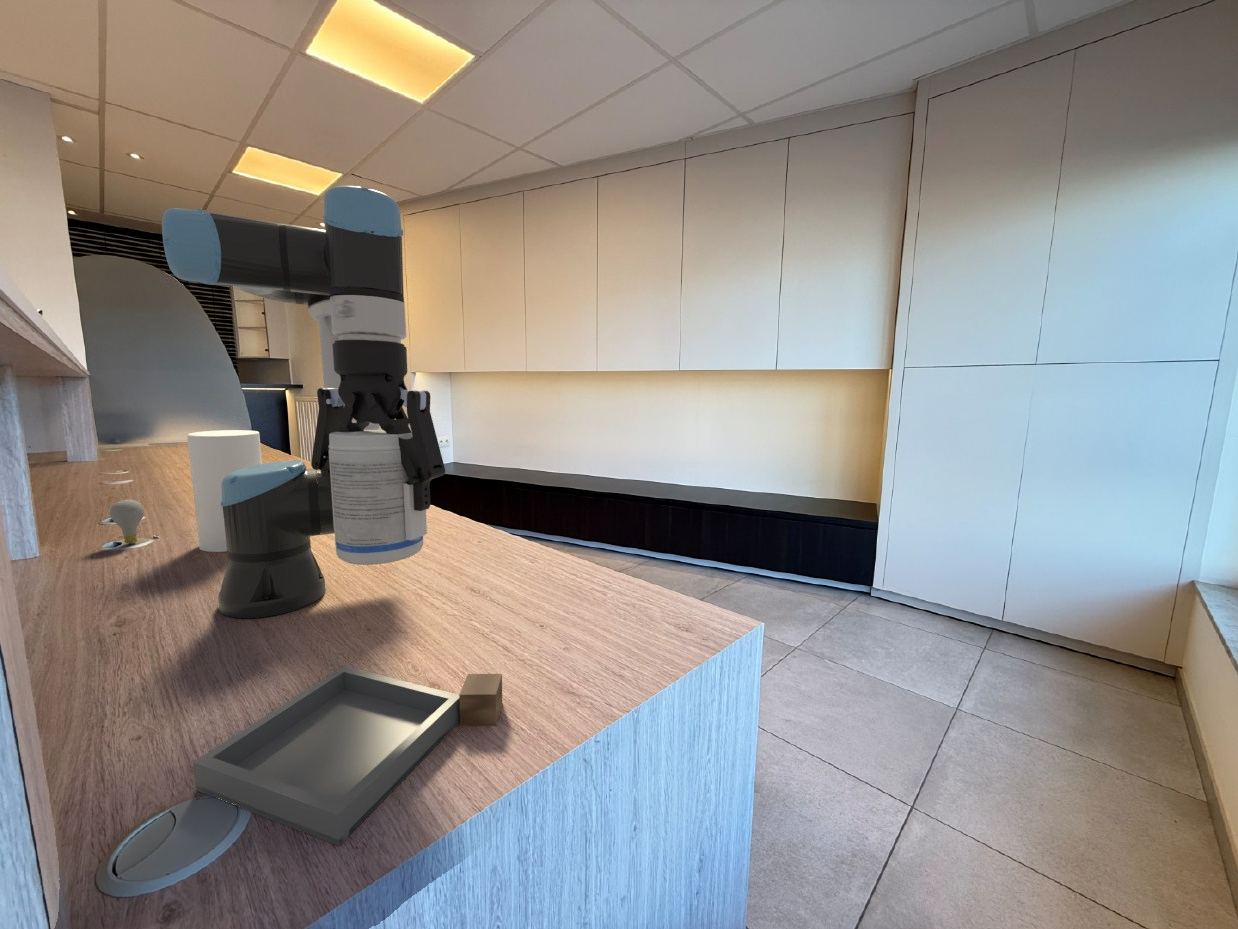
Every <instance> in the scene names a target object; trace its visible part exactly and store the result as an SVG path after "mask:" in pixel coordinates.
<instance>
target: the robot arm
mask: <svg viewBox="0 0 1238 929" xmlns="http://www.w3.org/2000/svg"><path fill="white" fill-rule="evenodd" d="M323 200H324V201H323V206H324V207H323V215H322V217H323V223H324V229H321V228H320V229H319V228H314V227H313V228H312V227H306V226H302V225H301V226H300V225H293V224H288V223H287V224H286V223H280V222H279V223H276V222H271V221H265V220H259V219H252V218H248V217H240V216H234V215H228V214H221V213H218V212H215V213H214V212H211V211H210V212H209V211H207V210H206V209H205V210H204V209H195V210H194V209H186V208H178V207H171V208H168V209H166V210H165V211H164V212H163V214H162V218H161V233H162V234H161V235H162V242H163V244H162V245H163V249H164V254H165V258H166V261H167V262H166V263H167V265H168V268H169V270H170V272H172V274H173V275H174V276H175V277H176V278H178V280H179V279H180V280H182V281H188V282H195V283H202V284H205V285H210V286H212V285H213V286H214V285H217V286H228V287H234V288H235V289H237V290H239V291H241V292H243V293H246V294H250V295H254V296H257V297H261V298H264V299H267V300H271V301H276V302H281V303H287V304H293V305H294V304H296V305H304V306H307V310H308V315H309V316H310V317H311V318H312V319H314V320H315V321H316V322H317V323H318V326H319V338H320V339H319V340H320V355H321V368H322V379H323V380H322V381H323V387H320V388H318V389H317V390H316V391H317V392H316V395H317V402H318V413H317V420H316V426H315V432H314V433H315V435H314V441H313V446H312V447H313V448H312V454H311V462H310V464H311V465H310V466H311V468H307V464H305V462H304V461H302V460H298V459H297V460H295V459H294V460H281V461H274V462H267V463H262V464H260V465H255V466H251V467H246V468H243V469H239V470H236V471H234V472H231V473H230V474H228V475H227V476H225V478H224V479H223V481H222V484H221V488H222V501H221V506H223V515H224V524H225V533H226V545H227V552H226V553H227V554H226V555H227V565H226V568H225V572H224V575H223V579H222V583H221V586H220V591H219V593H218V595H217V596H218V597H217V599H218V609H219V612H220V613H221V614H222V615H224V616H227V617H231V618H236V619H237V618H239V619H240V618H241V619H253V618H256V619H257V618H263V617H265V618H266V617H272V616H277V615H281V614H285V613H290V612H294V611H296V610H299V609H302V608H305V607H307V606H308V605H312V604H313V603H315V602H316V601H318V600H320V599H321V598H322V597H323V596H324V595H325V593H326V591H327V589H326V580H325V576H324V574H323V573H322V570H321V568H320V565H319V564H318V561H317V559H316V557H315V556H314V554H313V551H312V545H311V537H315V536H316V537H317V536H324V535H326V536H327V535H335V531H334V517H333V504H332V491H331V477H330V463H329V434H330V433H333V432H356V431H364V430H384V431H385V432H386V433H387V434H397V435H398V434H406V433H412V435H413V437H412V438H410V439H402V438H400V437H398V439H399V447H400V452H401V464H402V466H403V468H404V470H405V472H406V474H407V476H408V478H409V480H408V481H406V483H405V484H403V486H404V508H405V531H406V540H414V539H416V538H419V537H421V536H423V537H424V536H426V535H427V534H428V532H427V530H428V528H427V510H428V509H430V507H431V481H432V480H433V479H436V478H440V477H442V476H444V475H445V474H446V466H445V464H444V460H443V456H442V452H441V448H440V445H439V441H438V436H437V433H436V429H435V425H434V421H433V418H432V413H431V393H430V392H429V390H416V389H415V390H414V389H413V390H411V389H408V387H407V386H406V383H405V377H406V375H407V374H408V357H407V356H408V354H407V351H408V350H407V347H406V346H405V344H403V343H401V341H403V340H405V339H406V338H407V326H406V325H407V323H406V322H407V321H406V308H405V307H406V306H405V305H406V304H405V294H404V273H403V272H404V271H403V270H404V269H403V268H404V266H403V265H404V263H403V262H404V261H403V259H404V258H403V236H404V230H403V229H402V220H401V209H400V206H399V204H398V203H397V202H396V201H395V199H394V198H393V197H391V196H390V195H387V194H386V193H383V192H381V191H378V190H375V189H371V188H367V187H362V186H355V185H338V186H334V187H331V188H329V189H328V190H327V191H326V192H325V194H324V197H323ZM404 408H406V411H405V410H404Z"/></svg>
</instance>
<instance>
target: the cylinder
mask: <svg viewBox="0 0 1238 929" xmlns="http://www.w3.org/2000/svg"><path fill="white" fill-rule="evenodd" d="M186 435H187V436H186V437H187V438H186V440H187V448H188V456H189V458H188V459H189V466H190V474H191V484H192V494H193V500H194V510H195V517H196V518H195V519H196V529H197V535H198V536H197V537H198V546H199V550H201V551H203V552H208V553H223V552H224V553H225V552H226V553H227V545H226V533H225V524H224V515H223V506H221V501H222V488H221V484H222V481H223V479H224V478H225V476H227V475H228V474H230V473H231V472H234V471H236V470H239V469H243V468H246V467H251V466H255V465H260V464H263V461H262V460H263V459H262V448H261V438H260V436H261V434H260V432H259V431H257V430H248V429H247V430H246V429H243V430H241V429H225V430H222V429H221V430H208V431H196V432H191V433H187V434H186Z"/></svg>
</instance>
